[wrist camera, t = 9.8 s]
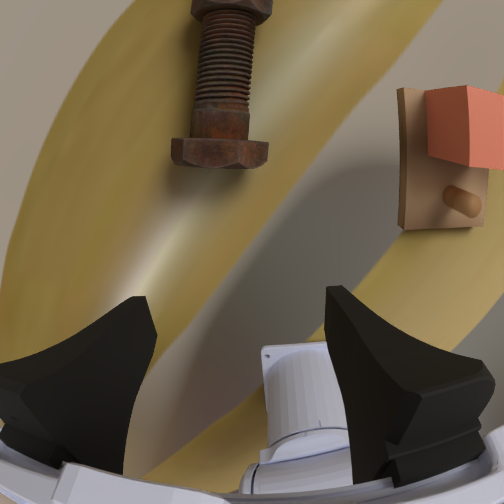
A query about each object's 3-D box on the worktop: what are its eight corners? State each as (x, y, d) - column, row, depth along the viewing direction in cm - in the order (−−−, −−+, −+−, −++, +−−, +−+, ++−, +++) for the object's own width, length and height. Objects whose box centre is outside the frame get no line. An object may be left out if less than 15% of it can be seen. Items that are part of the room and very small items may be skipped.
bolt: (251, -20, 15) (235, 161, 21) (187, -33, 13) (165, 161, 19) (295, -50, 11) (280, 171, 16) (219, -73, 8) (190, 170, 14)
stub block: (475, 221, 20) (504, 239, 16) (397, 224, 21) (422, 245, 17) (479, 103, 16) (512, 104, 12) (396, 89, 17) (425, 82, 13)
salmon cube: (474, 159, 17) (517, 171, 12) (427, 155, 17) (469, 166, 13) (473, 99, 15) (516, 99, 11) (424, 90, 15) (466, 85, 11)
